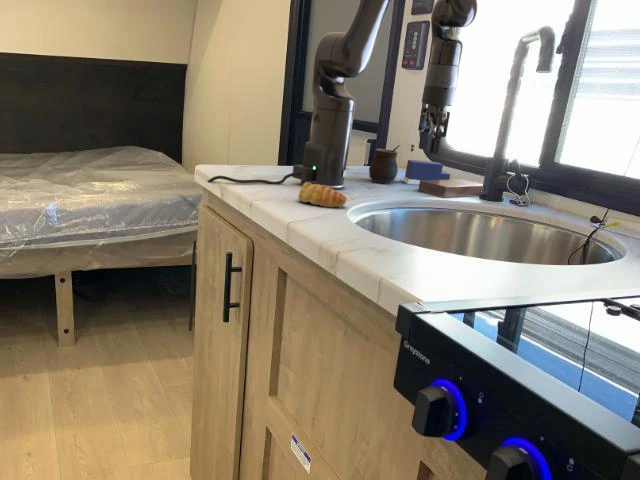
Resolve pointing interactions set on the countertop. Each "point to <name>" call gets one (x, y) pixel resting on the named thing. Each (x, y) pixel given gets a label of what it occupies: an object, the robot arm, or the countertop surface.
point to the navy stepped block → (424, 172)
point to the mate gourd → (384, 166)
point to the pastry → (321, 195)
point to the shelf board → (451, 187)
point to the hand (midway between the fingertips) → (427, 151)
